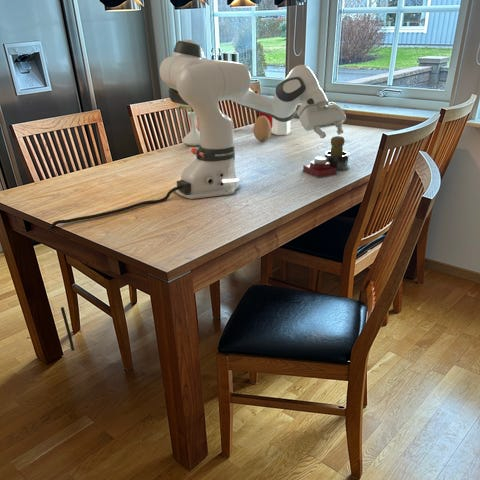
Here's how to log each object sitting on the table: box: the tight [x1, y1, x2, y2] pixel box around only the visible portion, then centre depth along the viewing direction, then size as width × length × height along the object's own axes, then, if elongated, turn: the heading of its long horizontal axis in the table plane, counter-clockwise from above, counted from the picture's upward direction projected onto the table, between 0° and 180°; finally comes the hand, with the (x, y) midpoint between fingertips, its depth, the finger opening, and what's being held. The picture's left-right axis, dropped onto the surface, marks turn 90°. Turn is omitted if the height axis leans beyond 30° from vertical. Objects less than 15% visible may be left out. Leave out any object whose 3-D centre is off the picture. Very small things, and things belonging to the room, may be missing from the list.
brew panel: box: [302, 159, 337, 178], centre depth 183 cm, size 8×10×4 cm
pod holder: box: [324, 150, 350, 172], centre depth 188 cm, size 9×9×6 cm
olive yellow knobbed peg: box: [330, 135, 345, 156], centre depth 186 cm, size 6×6×11 cm
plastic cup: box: [258, 111, 273, 129], centre depth 251 cm, size 11×11×12 cm
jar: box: [271, 118, 292, 136], centre depth 238 cm, size 9×8×12 cm
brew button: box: [313, 156, 326, 164], centre depth 182 cm, size 4×4×2 cm
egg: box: [252, 115, 272, 142], centre depth 225 cm, size 8×8×11 cm
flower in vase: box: [178, 105, 201, 147], centre depth 217 cm, size 13×11×25 cm
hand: (332, 135), depth 185 cm, fingers open, 8 cm apart
